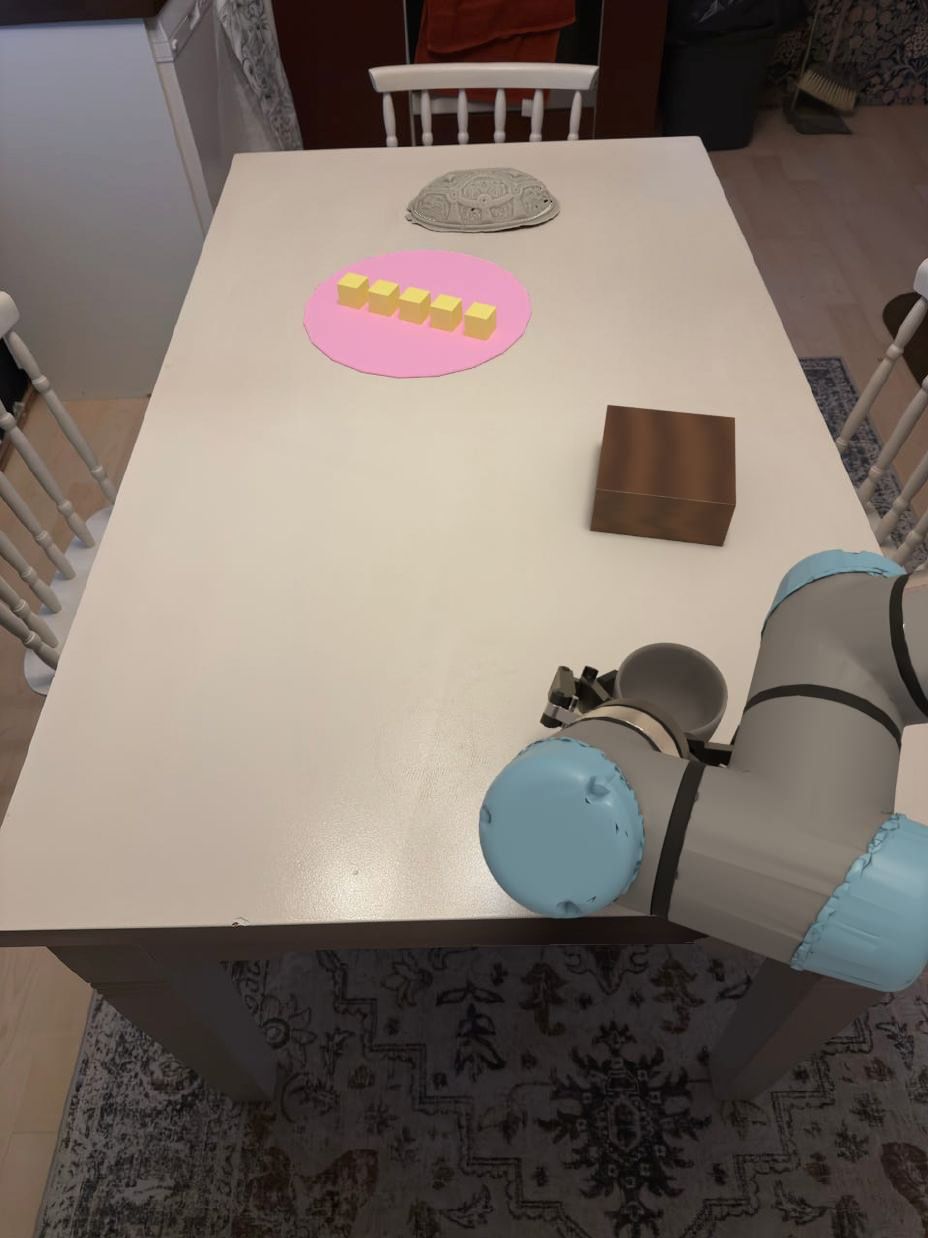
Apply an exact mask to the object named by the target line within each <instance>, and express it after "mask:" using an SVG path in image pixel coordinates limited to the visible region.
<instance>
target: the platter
mask: <svg viewBox="0 0 928 1238" xmlns="http://www.w3.org/2000/svg"><path fill="white" fill-rule="evenodd" d="M531 317H532V307H531V301H530V295H529V292H528V291H527V290H526V288H525V287H524V285H522V284H521V282H520V280H519V279H517V277H516V276H515V275H514V274H513V273H511V272H509V271H508V270H506V269H504V268H503V267H501V266H499V265H498V264H496V263H495V262H493V261H489V260H486V259H484V258H480V257H477V256H475V255H472V254H468V253H464V252H457V251H448V250H440V249H416V250H415V249H414V250H399V251H394V252H388V253H384V254H379V255H375V256H370V257H367V258H364V259H362V260H360V261H357V262H354V263H352V264H349V265H347V266H344V267H342V268H340V269H339V270H337V271H336V272H335V273H332V274H331V275H330V276H329V277H327V278H326V279H325V280H324V281H322V282H321V283H319V284H318V286H317V287H316V289H314V291H313V293H312V294H311V296H310V297H309V298H308V299H307V301H306V302H305V310H304V316H303V325H304V328H305V330H306V332H307V335H308V337H309V339H310V341H311V344H312V345H314V346H315V347H316V348H317V349H318V350H319V351H320V352H322V353H323V354H324V355H325V356H327V358H329V359H330V360H331V361H333V362H336V363H338V364H340V365H343V366H345V367H347V368H350V369H353V370H355V371H357V372H360V373H363V374H368V375H369V374H370V375H376V376H383V377H389V378H396V379H408V378H412V379H413V378H432V377H433V378H434V377H441V376H446V375H449V374H454V373H456V372H457V373H458V372H462V371H466V370H470V369H474V368H476V367H479V366H480V365H482V364H484V363H487V362H488V361H491V360H493V359H495V358H497V357H499V356H500V355H502V354H504V353H506V352H507V350H508V349H510V347H512V346H513V345H514V344H515V343H516V342H517V341H518V340H519V339H521V337H522V336H523V335H524V333H525V331H526V328H527V326H528V323H529V322H530V319H531Z"/></svg>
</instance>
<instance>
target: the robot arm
mask: <svg viewBox="0 0 928 1238" xmlns="http://www.w3.org/2000/svg"><path fill="white" fill-rule="evenodd" d="M617 672H618V669H613V670H610V671H609V672H606V673H604V674H601V675H600V676H598V675H599V670H598V669H597V668H595V667H594V666H593V667H592V666H590V665H584V666H583V670H582V672H581V674H580V677H575V676H574V670H572V669H570V667H569V666H566V665H559V666H558V667H557V670H556V673H555V675H554V678H553V680H552V682H551V685H550V687H549V690H548V692H547V702H546V704H545V707H544V710H543V712H542V715H541V717H540V719H539V723H540V724H541V725H543V727H545V728H546V729H557V728H560V730H559V731H557V732H555V733H554V734H551V735H550V736H548V737H546V738H544V739H538V740H537V741H535V742H531V743H530V744H529V745H527V746H526V747H525V749H521V750H520V751H519V752H518V753H517V754H516V755H515V757H513V759H511V761H510V762H509V763H507V764H506V765H505V766H504V767H503V769H502V770H501V771H500V772H499V773H498V774H497V776H496V777H495V778H494V779H493V780H492V782H491V783H490V785H489V787H488V788H487V790H486V792H485V795H484V798H483V800H482V804H481V806H480V809H479V819H478V839H479V844H480V845H479V846H480V850H481V853H482V856H483V860H484V862H485V864H486V866H487V868H488V870H489V872H490V874H491V875H492V877H493V879H494V880H495V882H496V884H497V885H498V886H499V887H500V888H501V889H502V890H503V891H504V892H505V894H506V895H507V896H509V898H510V899H512V900H513V901H515V902H516V903H517V904H519V905H520V906H522V907H523V908H525V909H527V910H528V911H530V912H533V913H534V914H537V915H540V916H543V917H547V918H552V919H577V918H581V917H585V916H591V915H592V914H595V913H597V912H599V911H602V910H604V909H605V908H607V907H609V906H612V904H614V905H617V906H620V907H623V908H625V909H628V910H631V911H634V912H637V913H639V914H642V915H645V916H648V917H652V916H656V917H658V918H660V919H664V920H667V921H668V922H672V923H674V924H676V925H680V926H682V927H685V928H687V929H691V930H693V931H696V932H698V933H702V934H704V935H706V936H710V937H712V938H715V939H718V940H720V941H723V942H726V943H729V944H732V945H735V946H736V947H740V948H742V949H745V950H747V951H751V952H753V953H756V954H758V955H762V956H764V957H767V958H769V959H773V960H775V961H778V962H780V963H784V964H786V965H789V967H790V968H791V969H794V970H796V971H800V972H803V971H805V970H806V971H808V972H812V973H816V974H819V975H823V976H827V977H831V978H833V979H837V980H840V981H844V982H847V983H851V984H855V985H858V986H862V987H865V988H869V989H871V990H876V991H880V992H885V993H896V992H900V991H902V990H905V989H906V988H908V987H909V986H911V985H912V984H913V983H914V982H915V981H916V979H917V978H918V977H919V976H920V975H921V973H922V972H923V971H924V969H925V967H926V966H927V963H928V825H926V824H923V823H922V822H919V821H916V820H913V819H911V818H908V817H907V815H906V814H904V813H900V812H895V807H896V806H895V805H896V795H897V794H896V792H897V783H898V776H899V769H900V768H899V767H900V761H901V753H902V752H901V751H902V745H903V742H902V739H903V734H904V729H905V728H906V727H909V726H914V725H925V724H928V567H925V568H922V569H917V570H915V571H913V572H909V573H907V572H906V570H905V569H904V568H903V567H902V566H901V565H899V564H898V563H897V562H895V561H894V560H892V559H890V558H887V557H885V556H884V555H881V554H879V553H876V552H872V551H867V550H861V551H860V552H854V551H853V552H852V551H844V550H843V549H842V548H836V549H829V550H823V551H819V552H815V553H813V554H811V555H809V556H806V557H804V558H803V559H801V560H800V561H798V562H797V563H795V564H794V565H793V566H792V567H791V568H789V570H787V572H786V573H785V575H784V576H783V577H782V578H781V581H780V582H779V585H778V588H777V590H776V593H775V595H774V599H773V600H772V603H771V606H770V609H769V610H768V612H767V614H766V617H765V618H764V621H763V624H762V629H761V631H760V643H759V648H758V652H757V657H756V662H755V664H754V669H753V673H752V677H751V681H750V686H749V690H748V694H747V697H746V702H745V704H744V705H745V706H744V708H743V710H742V715H741V719H740V721H739V724H738V725H737V727H736V729H735V732H734V734H733V735H732V738H731V740H730V742H729V744H727V743H721V742H712V741H709V742H705V741H702V740H701V739H699V738H697V737H696V736H694V735H693V734H691V733H688V732H683V731H682V729H681V728H680V726H679V725H678V723H677V722H676V721H675V720H674V719H673V718H672V717H671V716H670V715H669V714H668V713H667V712H666V711H664V710H663V709H662V708H660V707H658V706H657V705H655V704H653V703H650V702H648V701H644V700H640V699H635V698H620V699H612V697H613V689H614V683H615V679H616V675H617Z"/></svg>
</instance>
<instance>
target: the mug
mask: <svg viewBox="0 0 928 1238" xmlns="http://www.w3.org/2000/svg"><path fill="white" fill-rule="evenodd" d="M617 671H618V672H617V675H616V679H615V683H614V689H613V697H612V699H620V698H635V699H640V700H644V701H648V702H650V703H653V704H655V705H657V706H658V707H660V708H662V709H663V710H664V711H666V712H667V713H668V714H669V715H670V716H671V717H672V718H673V719H674V720H675V721H676V722H677V723H678V725H679V726H680V728H681V729H682V731H683V732H688V733H691V734H693V735H694V736H696V737H697V738H699V739H701V740H702V741H705V742H710V740H711V739H712V737H713V736H714V735H715V733H716V732H717V729H718V727H719V726H720V724H721V722H722V720H723V717H724V715H725V713H726V710H727V705H728V701H729V691H728V685H727V682H726V679H725V677H724V675H723V673H722V671H721V670H720V669H719V668H718V666H717V665H716V664H715V663H714V662H713V661H712V660H711V658H709V657H708V656H707V655H705V654H704V653H702V652H700V651H699V650H697V649H695V648H692V647H690V646H687V645H684V644H681V643H677V642H656V643H651V644H650V643H649V644H647V645H643V646H641V647H639V648H637V649H635V650H634V651H632V652H631V653H629V654H628V655H627V656H626V657H625V658H624V660H623V661H622V662H621V664H620V665H619V667H618V669H617Z"/></svg>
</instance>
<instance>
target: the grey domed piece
mask: <svg viewBox="0 0 928 1238" xmlns="http://www.w3.org/2000/svg"><path fill="white" fill-rule="evenodd" d="M541 189H542V191H541ZM545 201H546V202H545ZM551 201H552V202H551ZM551 203H552V204H551ZM550 204H551V207H550V209H549V210H548V211H547V212H546V213H544V214H542V215H540V216H538V217H536V218H533V217H534V216H537V215H538V214H540V213H541V212H542V211H544V210H545V209H546V208H547V207H549V205H550ZM560 209H561V204H560V201H559V199H558V198H557V197H556V196H554V195H553V194H552V193H551V192H550V191H549V189H548V187H547V186H546V184H545V183H544V182H543V181H542V180H540V179H538V178H537V177H536V176H534V175H532V174H530V173H528V172H526V171H523V170H520V169H517V168H515V167H511V166H509V167H505V166H504V167H503V166H502V167H501V166H500V167H478V168H471V169H457V170H456V169H455V170H453V171H448V172H446V173H444V174H442V175H440V176H437V177H436V178H434V179H433V180H431V181H430V182H429V183H427V185H425V186H424V187H422V188H421V189H420V190H419V192H418V194H417V195H415V196H414V198H412V199H411V200H410V201H409V202H408V204H407V205H406V210H409V211H410V213H405V217H406V219H407V220H408V221H411V222H412V223H413V224H418V225H421V226H422V227H424V228H426V229H428V230H429V231H435V232H441V233H444V232H448V233H449V232H463V233H480V232H484V233H487V232H496V231H502V230H506V229H512V228H519V227H521V226H533V225H538V224H541V223H544V222H547V221H549V220H550V219H553V218H555V217H556V216H557V215H558V214H559V213H560ZM414 210H415V211H416V212H417V213H418V214H417V213H416V212H415V211H414ZM419 214H420V215H421V216H420V215H419ZM422 216H423V217H422ZM424 217H425V218H424ZM426 218H427V219H426ZM531 218H533V219H531ZM429 219H431V220H429ZM528 219H530V220H528ZM433 220H435V221H433ZM526 220H527V221H526Z"/></svg>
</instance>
